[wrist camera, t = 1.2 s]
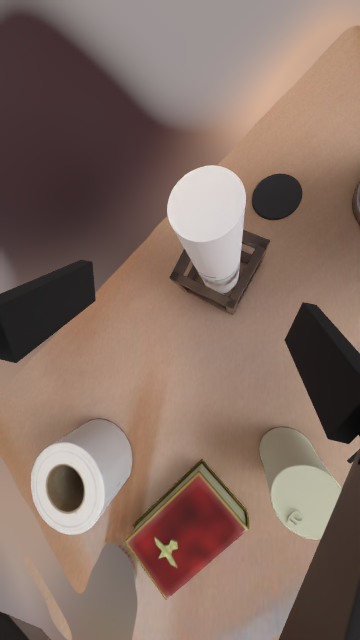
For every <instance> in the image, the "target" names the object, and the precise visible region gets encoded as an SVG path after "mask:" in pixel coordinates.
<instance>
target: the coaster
mask: <svg viewBox="0 0 360 640" xmlns="http://www.w3.org/2000/svg"><path fill="white" fill-rule="evenodd" d="M301 198H302V188H301V186H300V184H299V182H298V181H297V180H296V179H295V178H294V177H292V176H290V175H287V174H275V175H271V176H269V177H267V178H265V179H263V180H262V181H261V182H260V183H259V184H258V185H257V187H256V188H255V190H254V193H253V197H252V204H253V208H254V210H255V211H256V213H257V214H258V215H260V216H261V217H263V218H265V219H269V220H278V219H282V218H285V217H287V216H288V215H290V214H291V213H293V212H294V211H295V210H296V208H297V207H298V205H299V203H300V201H301Z"/></svg>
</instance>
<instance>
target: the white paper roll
mask: <svg viewBox="0 0 360 640" xmlns="http://www.w3.org/2000/svg"><path fill="white" fill-rule="evenodd" d="M131 469H132V451H131V447H130V444H129V441H128V439H127V437H126V436H125V434H124V433H123V431H122V430H121V429H120V428H119V427H118V426H116V425H115V424H113V423H112V422H110V421H107V420H103V419H95V420H91V421H88V422H87V423H85V424H83V425H82V426H80V427H79V428H77V429H75V430H74V431H72V432H71V433H69V434H68V435H66V436H64V437H63V438H61V439H60V440H58V441H57V442H55V443H53V444H52V445H50V446H49V447H47V448H46V449H45V450H43V451H42V452H41V454H40V455H39V456H38V458H37V459H36V462H35V464H34V466H33V470H32V474H31V491H32V496H33V500H34V503H35V506H36V508H37V510H38V512H39V514H40V515H41V517H42V518H43V519H44V521H45V522H46V523H47V524H48V525H49V526H51V527H52V528H53V529H55V530H57V531H59V532H61V533H64V534H70V535H75V534H80V533H83V532H85V531H87V530H88V529H90V528H91V527H92V526H93V525H94V524H95V523H96V521H97V520H98V518H99V517H100V516H101V515H102V514H103V512H104V511H105V509H106V508H107V506H108V505H109V504H110V502H111V501H112V499H113V498H114V497H115V496H116V494H117V493H118V491H119V490H120V488H121V487H122V486H123V484H124V483H125V482H126V480H127V479H128V477H129V476H130V474H131Z"/></svg>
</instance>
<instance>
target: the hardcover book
mask: <svg viewBox="0 0 360 640" xmlns="http://www.w3.org/2000/svg"><path fill="white" fill-rule="evenodd" d="M133 526H134V527H135V529H134V531H133V533H132V534H131V536H130V537H128V538H127V539H126V541H125V543H126V544H127V546H128V547H129V549H130V550H131V551H132V553H133V554H134V556H135V557H136V558H137V560H138V561H139V563H140V564H141V566H142V567H143V568H144V570H145V571H146V573H147V574H148V576H149V577H150V578H151V580H152V581H153V583H154V584H155V585H156V587H157V588H158V590H159V591H160V593H161V594H162V595H163V597H164V598H165V600H167V599H168V598H169V597H170V596H171V595H172V594H174V593H175V592H176V591H177V590H178V589H179V588H181V587H182V586H183V585H184V584H185V583H186V582H188V581H189V580H190V579H191V578H192V577H193V576H194V575H196V574H197V573H198V572H199V571H200V570H201V569H203V568H204V567H205V566H206V565H207V564H208V563H210V562H211V561H212V560H213V559H214V558H215V557H216V556H218V555H219V554H220V553H221V552H222V551H223V550H225V549H226V548H227V547H228V546H229V545H230V544H232V543H233V542H234V541H235V540H236V539H237V538H239V537H240V536H241V535H242V534H243V533H244V532H245V531H247V530H248V529H249V517H248V513H247V510H246V509H245V508H244V507H243V506H242V505H241V503H240V502H239V501H238V500H237V499H236V498H235V497H234V495H233V494H232V493H231V492H230V491H229V490H228V489H227V487H226V486H225V485H224V484H223V483H222V482H221V481H220V479H219V478H218V477H217V476H216V475H215V474H214V473H213V472H212V470H211V469H210V468H209V467H208V466H207V465H206V464H205V462H204V461H203V460H201V461H200V462H199V463H198V464H197V465H195V466H194V467H193V468H192V469H191V470H190V471H189V472H188V473H187V474H186V475H185V476H184V477H183V478H182V479H181V480H180V481H179V482H178V483H177V484H176V485H174V486H173V487H172V488H171V489H170V490H169V491H168V492H167V493H166V494H165V495H164V496H163V497H162V498H161V499H160V500H159V501H158V502H157V503H156V504H155V505H154V506H152V507H151V508H150V509H149V510H148V511H147V512H146V513H145V514H144V515H143V516H142V517H141V518H140V519H139V520H138V521H137V522H136V523H135V524H134V525H133Z"/></svg>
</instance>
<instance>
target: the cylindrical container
mask: <svg viewBox="0 0 360 640" xmlns="http://www.w3.org/2000/svg"><path fill="white" fill-rule="evenodd" d="M245 204H246V193H245V189H244V186H243V183H242V182H241V180H240V178H239V177H238V176H237V175H236V174H235V173H234V172H232V171H231V170H229V169H227V168H224V167H221V166H204V167H200V168H197V169H195V170H193V171H191V172H189V173H188V174H186V175H185V176H184V177H183V178H181V179H180V180H179V181H178V183H177V184H176V185H175V187H174V188H173V190H172V192H171V194H170V197H169V200H168V206H167V212H168V213H167V214H168V218H169V222H170V224H171V226H172V228H173V229H174V231H175V233H176V235H177V236H178V238H179V240H180V242H181V243H182V245H183V247H184V249H185V250H186V252H187V254H188V256H189V257H190V259H191V261H192V263H193V264H194V266H195V268H196V270H197V271H198V273H199V275H200V277H201V278H202V280H203V282H204V284H205V285H206V286H207V287H209V288H211V289H213V290H215V291H217V292H219V293H221V294H222V293H226V292H229V291H230V290H232V289H233V288H234V287H235V286H236V284H237V282H238V278H239V268H240V257H241V247H242V236H243V225H244V215H245Z"/></svg>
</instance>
